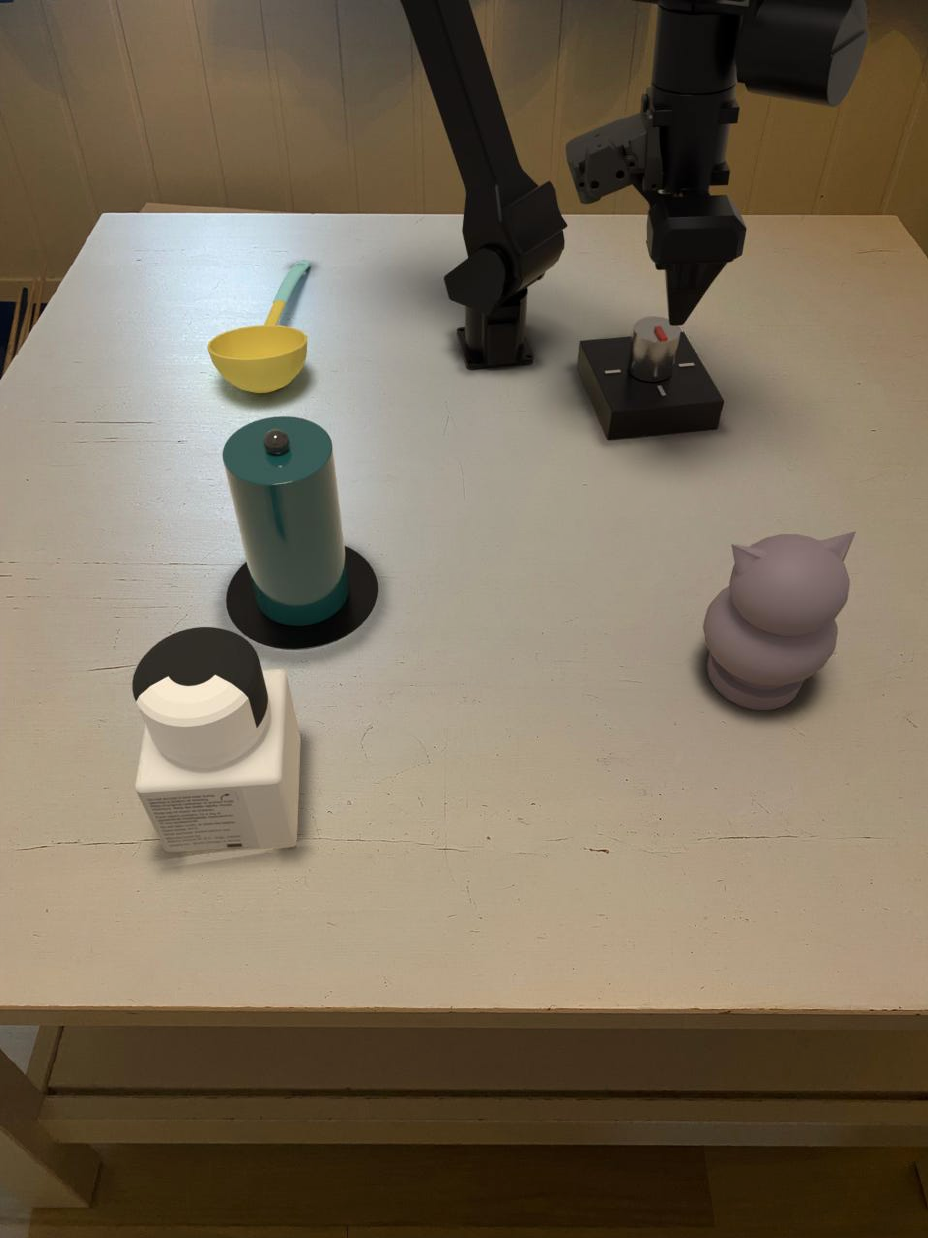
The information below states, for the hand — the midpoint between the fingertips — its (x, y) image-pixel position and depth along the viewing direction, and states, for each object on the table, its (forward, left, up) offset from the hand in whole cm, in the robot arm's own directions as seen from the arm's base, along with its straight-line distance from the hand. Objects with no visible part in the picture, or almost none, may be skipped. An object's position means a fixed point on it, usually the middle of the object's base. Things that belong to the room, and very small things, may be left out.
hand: (668, 295), depth 76 cm
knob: (-2, 0, -8) cm, 9 cm away
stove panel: (-2, +1, -12) cm, 12 cm away
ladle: (-18, -31, -12) cm, 38 cm away
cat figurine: (+30, -1, -12) cm, 32 cm away
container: (+34, -36, -12) cm, 51 cm away
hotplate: (+18, -31, -12) cm, 38 cm away
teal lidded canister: (+18, -31, -11) cm, 38 cm away
